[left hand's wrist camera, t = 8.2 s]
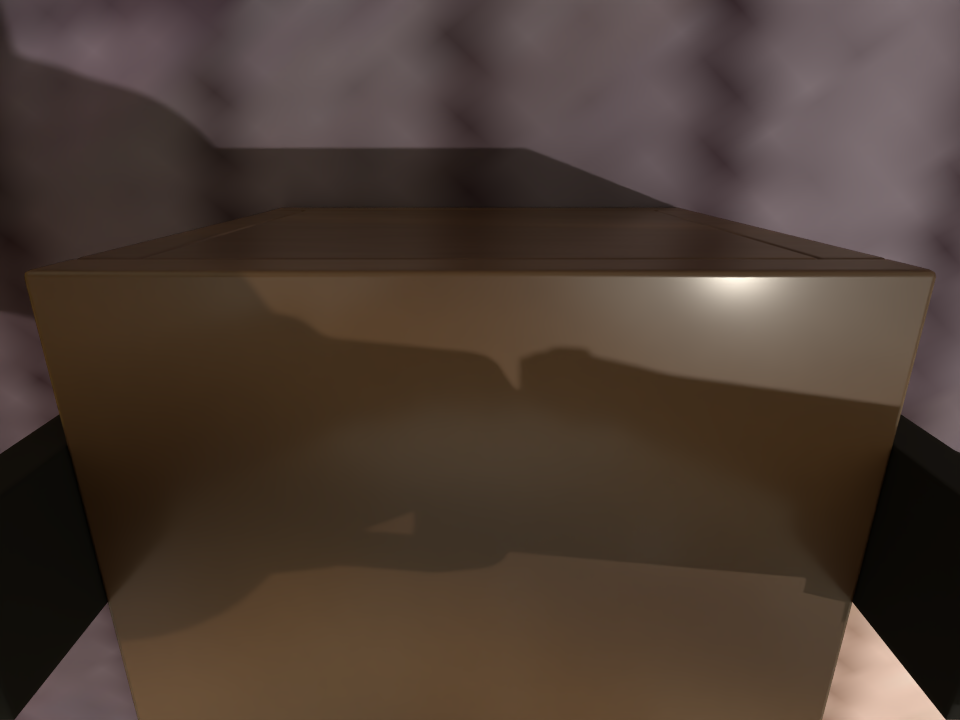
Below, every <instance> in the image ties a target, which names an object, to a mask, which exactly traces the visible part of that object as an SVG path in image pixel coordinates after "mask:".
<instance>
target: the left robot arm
mask: <svg viewBox="0 0 960 720" xmlns="http://www.w3.org/2000/svg"><path fill="white" fill-rule="evenodd" d="M107 602H108V601H107V597H106V593H105V589H104V585H103V581H102V577H101V574H100V570H99V566H98V562H97V558H96V554H95V550H94V546H93V542H92V539H91V535H90V531H89V527H88V523H87V519H86V515H85V511H84V507H83V504H82V500H81V496H80V492H79V488H78V484H77V480H76V476H75V472H74V469H73V465H72V461H71V457H70V453H69V449H68V445H67V441H66V438H65V434H64V430H63V426H62V422H61V418H60V414H59V415H58V416H56V417H55V418H53V419H52V420H50V421H49V422H47V423H46V424H44V425H43V426H41V427H40V428H38V429H37V430H35V431H34V432H32V433H31V434H29V435H28V436H27V437H25V438H24V439H22V440H21V441H19V442H18V443H16V444H15V445H13V446H12V447H10V448H9V449H7V450H6V451H4V452H3V453H1V454H0V720H14V719H15V718H16V717H17V716H18V714H19V713H20V712H21V711H22V709H23V708H24V707H25V706H26V704H27V703H28V702H29V701H30V699H31V698H32V697H33V695H34V694H35V693H36V692H37V690H38V689H39V688H40V687H41V685H42V684H43V683H44V682H45V680H46V679H47V678H48V677H49V675H50V674H51V673H52V672H53V670H54V669H55V668H56V667H57V665H58V664H59V663H60V661H61V660H62V659H63V658H64V656H65V655H66V654H67V653H68V651H69V650H70V649H71V648H72V646H73V645H74V644H75V643H76V641H77V640H78V639H79V638H80V636H81V635H82V634H83V632H84V631H85V630H86V629H87V627H88V626H89V625H90V624H91V622H92V621H93V620H94V619H95V617H96V616H97V615H98V614H99V612H100V611H101V610H102V609H103V607H104V606H105V605H106V603H107ZM852 602H853V603H854V605H855V606H856V607H857V608H858V610H859V611H860V612H861V613H862V615H863V616H864V617H865V618H866V620H867V621H868V622H869V623H870V625H871V626H872V627H873V628H874V630H875V631H876V632H877V634H878V635H879V636H880V637H881V639H882V640H883V641H884V642H885V644H886V645H887V646H888V647H889V649H890V650H891V651H892V652H893V654H894V655H895V656H896V657H897V659H898V660H899V661H900V663H901V664H902V665H903V666H904V668H905V669H906V670H907V671H908V673H909V674H910V675H911V676H912V678H913V679H914V680H915V681H916V683H917V684H918V685H919V686H920V688H921V689H922V690H923V691H924V693H925V694H926V695H927V697H928V698H929V699H930V700H931V702H932V703H933V704H934V705H935V707H936V708H937V709H938V710H939V712H940V713H941V714H942V715H943V717H944V718H945V719H946V720H960V453H959V452H957V451H955V450H953V449H952V448H950V447H949V446H947V445H946V444H944V443H943V442H941V441H940V440H938V439H937V438H935V437H934V436H932V435H931V434H929V433H928V432H926V431H925V430H923V429H922V428H920V427H919V426H917V425H916V424H914V423H913V422H911V421H910V420H908V419H907V418H905V417H904V416H902V415H900V419H899V422H898V426H897V430H896V434H895V438H894V442H893V446H892V450H891V454H890V457H889V461H888V465H887V469H886V473H885V477H884V481H883V485H882V489H881V492H880V496H879V500H878V504H877V508H876V512H875V516H874V520H873V524H872V527H871V531H870V535H869V539H868V543H867V547H866V551H865V555H864V558H863V562H862V566H861V570H860V574H859V578H858V582H857V586H856V590H855V593H854V597H853V601H852Z"/></svg>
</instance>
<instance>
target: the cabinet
mask: <svg viewBox="0 0 960 720" xmlns="http://www.w3.org/2000/svg"><path fill="white" fill-rule="evenodd" d="M24 278H25V282H26V286H27V290H28V294H29V298H30V301H31V305H32V309H33V313H34V317H35V321H36V325H37V329H38V333H39V336H40V340H41V344H42V348H43V352H44V356H45V360H46V364H47V368H48V371H49V375H50V379H51V383H52V387H53V391H54V395H55V399H56V403H57V406H58V410H59V414H60V418H61V422H62V426H63V430H64V434H65V438H66V441H67V445H68V449H69V453H70V457H71V461H72V465H73V469H74V472H75V476H76V480H77V484H78V488H79V492H80V496H81V500H82V504H83V507H84V511H85V515H86V519H87V523H88V527H89V531H90V535H91V539H92V542H93V546H94V550H95V554H96V558H97V562H98V566H99V570H100V574H101V577H102V581H103V585H104V589H105V593H106V597H107V601H108V605H109V609H110V612H111V616H112V620H113V624H114V628H115V632H116V636H117V640H118V644H119V647H120V651H121V655H122V659H123V663H124V667H125V671H126V675H127V679H128V682H129V686H130V690H131V694H132V698H133V702H134V706H135V710H136V714H137V717H138V720H822V718H823V714H824V710H825V706H826V702H827V698H828V695H829V691H830V687H831V683H832V679H833V675H834V671H835V667H836V663H837V660H838V656H839V652H840V648H841V644H842V640H843V636H844V632H845V628H846V625H847V621H848V617H849V613H850V609H851V605H852V601H853V597H854V593H855V590H856V586H857V582H858V578H859V574H860V570H861V566H862V562H863V558H864V555H865V551H866V547H867V543H868V539H869V535H870V531H871V527H872V524H873V520H874V516H875V512H876V508H877V504H878V500H879V496H880V492H881V489H882V485H883V481H884V477H885V473H886V469H887V465H888V461H889V457H890V454H891V450H892V446H893V442H894V438H895V434H896V430H897V426H898V422H899V419H900V415H901V411H902V407H903V403H904V399H905V395H906V391H907V387H908V384H909V380H910V376H911V372H912V368H913V364H914V360H915V356H916V352H917V349H918V345H919V341H920V337H921V333H922V329H923V325H924V321H925V318H926V314H927V310H928V306H929V302H930V298H931V294H932V290H933V286H934V283H935V279H936V275H935V272H933V271H931V270H929V269H925V268H921V267H917V266H913V265H909V264H905V263H901V262H897V261H892V260H888V259H884V258H882V257H878V256H873V255H869V254H865V253H861V252H857V251H853V250H849V249H845V248H841V247H837V246H832V245H828V244H824V243H820V242H816V241H812V240H808V239H804V238H800V237H796V236H791V235H787V234H783V233H779V232H775V231H771V230H767V229H763V228H759V227H755V226H750V225H746V224H742V223H738V222H734V221H730V220H726V219H722V218H718V217H714V216H709V215H705V214H701V213H697V212H693V211H689V210H686V209H681V208H279V209H274V210H271V211H268V212H264V213H260V214H256V215H252V216H248V217H243V218H239V219H235V220H231V221H227V222H223V223H219V224H215V225H211V226H207V227H203V228H199V229H195V230H190V231H186V232H182V233H178V234H174V235H170V236H166V237H162V238H158V239H154V240H150V241H146V242H142V243H138V244H133V245H129V246H125V247H121V248H117V249H113V250H109V251H105V252H101V253H97V254H93V255H89V256H85V257H81V258H79V259H72V260H68V261H64V262H60V263H56V264H52V265H48V266H43V267H39V268H35V269H31V270H29V271H27V272H26V273H25V276H24Z"/></svg>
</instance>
